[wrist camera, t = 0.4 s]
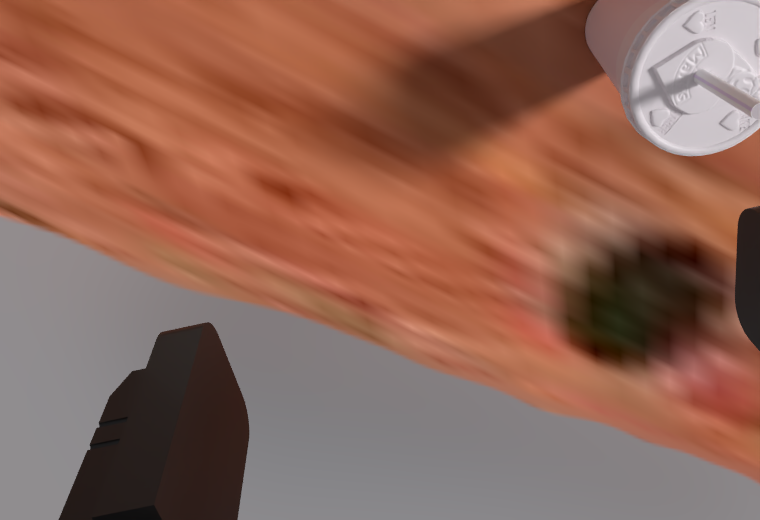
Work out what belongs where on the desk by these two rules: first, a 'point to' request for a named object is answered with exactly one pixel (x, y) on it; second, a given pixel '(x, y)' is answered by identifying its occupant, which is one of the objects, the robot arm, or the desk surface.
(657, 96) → the smoothie
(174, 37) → the desk surface
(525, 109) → the desk surface
